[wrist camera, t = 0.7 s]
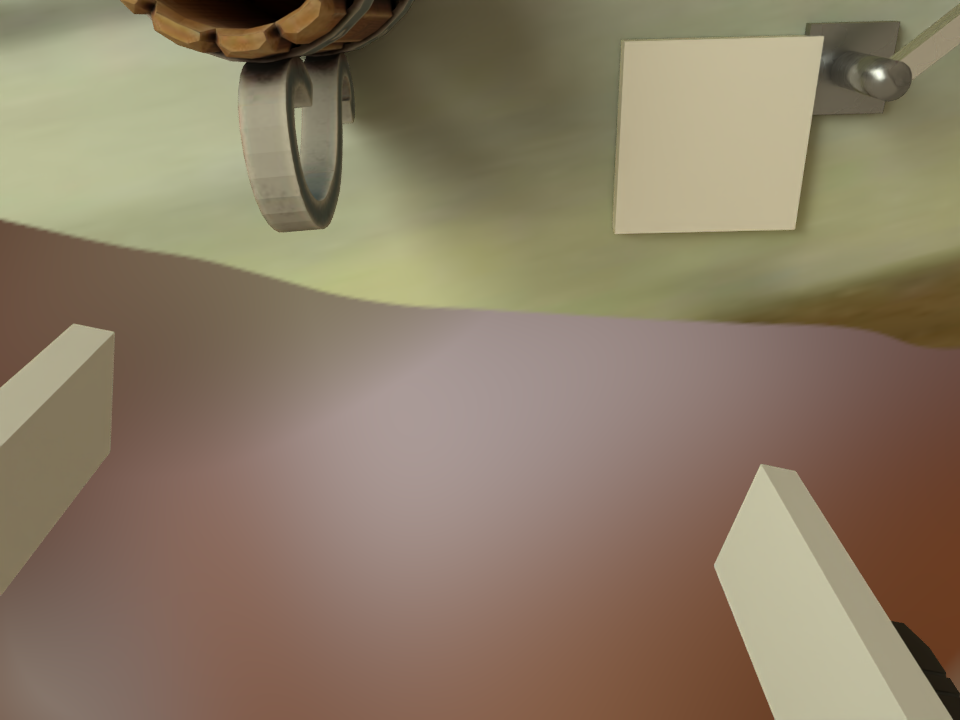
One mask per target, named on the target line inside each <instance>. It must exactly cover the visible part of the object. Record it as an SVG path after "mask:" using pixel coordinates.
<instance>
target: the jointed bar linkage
mask: <svg viewBox="0 0 960 720" xmlns="http://www.w3.org/2000/svg"><path fill="white" fill-rule="evenodd" d="M899 25H900V22H899V21H872V22H835V23H807V24H806V31H805V35H808V36H824V41H823V48H822V54H821V61H820V68H819V74H818V81H817V87H816V94H815V100H814V107H813V114H812V115H823V114H862V113H883V109H884V104H885V101H893V100H896V99H898V98H900V97H901V96H903V95H904V94H905V93H906V92H907V90H908V89H909V87H910V84H911V81H912V80H913V79H914V78H915V77H917V76H918V75H919V74H921V73H922V72H923V71H925V70H926V69H927V68H928V67H930V66H931V65H932V64H934V63H935V62H936V61H938V60H939V59H940V58H942V57H943V56H944V55H945V54H947V53H948V52H949V51H951V50H952V49H953V48H955V47H956V46H957V45H959V44H960V3H959V4H958V5H957V6H956V7H954V8H953V9H952V10H950V11H949V12H948V13H947V14H945V15H944V16H943V17H941V18H940V19H939V20H938V21H936V22H935V23H934V24H932V25H931V26H930V27H929V28H927V29H926V30H925V31H923V32H922V33H921V34H920V35H918V36H917V37H916V38H915V39H913V40H912V41H911V42H909V43H908V44H907V45H906V46H904V47H903V48H902V49H900V50H899V51H898V52H897V53H895V54H894V51H895V46H896V41H897V35H898V30H899Z"/></svg>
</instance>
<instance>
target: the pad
mask: <svg viewBox="0 0 960 720" xmlns="http://www.w3.org/2000/svg"><path fill="white" fill-rule="evenodd" d="M823 41H824V36H808V35H785V36H747V37H710V38H672V39H635V40H621V54H620V74H619V95H618V115H617V136H616V156H615V176H614V197H613V217H612V229H613V231H614V233H615V234H637V233H677V232H718V231H758V230H795V225H796V219H797V212H798V206H799V199H800V192H801V186H802V179H803V173H804V166H805V160H806V153H807V146H808V140H809V133H810V127H811V120H812V114H813V107H814V100H815V94H816V87H817V81H818V74H819V68H820V61H821V54H822V48H823Z"/></svg>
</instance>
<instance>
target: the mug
mask: <svg viewBox="0 0 960 720" xmlns="http://www.w3.org/2000/svg"><path fill="white" fill-rule="evenodd" d="M120 1H121V2H122V3H123V4H124V5H125V6H126V7H127V8H128V9H130V10H131V11H132V12H133V13H134V14H146V15H147V16H148V17H149V18H150V19H151V20H152V21H153V26H154V30H155V31H157V32H158V33H160V34H162V35H163V36H165V37H166V38H168V39H169V40H171V41H173V42H174V43H176V44H177V45H180V46H183V47H186V48H189V49H193V50H196V51H199V52H202V53H207V54H210V55H213V56H217V57H220V58H223V59H226V60H229V61H238V62H246V64H245V65H244V66H243V69H242V72H241V75H240V81H239V89H238V111H239V124H240V133H241V140H242V146H243V153H244V158H245V162H246V167H247V171H248V176H249V180H250V183H251V187H252V190H253V193H254V196H255V200H256V202H257V204H258V206H259V209H260V211H261V213H262V215H263V217H264V218H265V220H266V221H267V223H268V224H269V225H270V226H271V227H272V228H273V229H274V230H276V231H278V232H292V231H304V230H316V229H324V228H326V227H328V225H329V224H330V222H331V220H332V218H333V215H334V212H335V208H336V205H337V201H338V196H339V192H340V184H341V173H342V143H343V139H342V124H345V123H353V121H354V118H355V100H354V90H353V83H352V77H351V72H350V68H349V64H348V61H347V58H346V56H345V54H344V53H345V52H349V51H354V50H358V49H361V48H362V47H364V46H366V45H368V44H369V43H371V42H373V41H374V40H376V39H378V38H380V37H381V36H383V35H385V34H386V33H387V32H388V31H389V30H390V29H391V28H392V27H393V26H394V25H395V24H396V23H397V22H398V21H399V20H400V19H401V18H402V17H403V16H404V15H405V14H406V13H407V12H408V10H409V8H410V7H411V5H412V3H413V1H414V0H120ZM301 56H307V57H306V59H305V61H304V63H303V61H302V59H301V58H299V57H301ZM300 107H302V126H301V149H300V157H299V152H298V146H297V139H296V131H295V119H294V108H300Z"/></svg>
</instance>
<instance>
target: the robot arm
mask: <svg viewBox="0 0 960 720" xmlns="http://www.w3.org/2000/svg"><path fill="white" fill-rule="evenodd" d="M114 339H115V332H112V331H107V330H102V329H97V328H92V327H87V326H82V325H77V324H73V325H72V326H70V327H69V328H68V329H67V330H66V331H65V332H64V333H62V334H61V335H60V336H59V337H58V338H57V339H56V340H54V341H53V342H52V343H51V344H50V345H49V346H48V347H46V348H45V349H44V350H43V351H42V352H41V353H40V354H39V355H37V356H36V357H35V358H34V359H33V360H32V361H31V362H30V363H28V364H27V365H26V366H25V367H24V368H22V369H21V370H20V371H19V372H18V373H17V374H16V375H15V376H13V377H12V378H11V379H10V380H9V381H8V382H7V383H5V384H4V385H3V386H2V387H1V388H0V596H1V595H2V593H3V592H4V591H5V589H6V588H7V587H8V586H9V584H10V583H11V582H12V580H13V579H14V578H15V576H16V575H17V574H18V572H19V571H20V570H21V568H22V567H23V566H24V564H25V563H26V562H27V560H28V559H29V558H30V557H31V555H32V554H33V553H34V551H35V550H36V549H37V547H38V546H39V545H40V543H41V542H42V541H43V539H44V538H45V537H46V536H47V534H48V533H49V531H50V530H51V529H52V528H53V526H54V525H55V523H56V522H57V521H58V520H59V518H60V517H61V516H62V514H63V513H64V511H66V509H67V508H68V506H69V505H70V504H71V502H72V501H73V500H74V499H75V497H76V496H77V495H78V493H79V492H80V491H81V489H82V488H83V487H84V485H85V484H86V483H87V481H88V480H89V479H90V477H91V476H92V475H93V474H94V472H95V471H96V470H97V468H98V467H99V466H100V464H101V463H102V462H103V460H104V459H105V458H106V457H107V455H108V454H109V453H110V442H111V416H112V392H113V365H114ZM714 567H715V570H716V572H717V575H718V577H719V580H720V582H721V585H722V587H723V590H724V592H725V595H726V598H727V600H728V603H729V605H730V608H731V610H732V613H733V615H734V618H735V620H736V623H737V625H738V628H739V630H740V633H741V635H742V638H743V640H744V643H745V645H746V648H747V650H748V653H749V656H750V658H751V660H752V663H753V666H754V668H755V671H756V673H757V676H758V678H759V681H760V683H761V686H762V688H763V691H764V693H765V696H766V698H767V701H768V703H769V706H770V709H771V711H772V714H773V716H774V718H775V720H960V693H959V692H958V690H957V688H956V687H955V685H954V684H953V682H952V681H951V679H950V678H946V672H945V670H944V669H943V667H942V666H941V665H940V663H939V661H938V660H937V659H936V657H935V655H934V654H933V653H932V651H931V650H930V648H929V647H928V646H927V645H926V644H925V643H924V642H923V641H922V640H921V639H920V638H919V637H918V636H917V635H915V634H914V633H913V632H912V631H911V630H910V629H909V628H908V627H907V626H906V625H905V624H904V623H899V622H894V621H890V619H889V618H888V616H887V615H886V613H885V612H884V610H883V608H882V607H881V606H880V604H879V602H878V601H877V599H876V597H875V596H874V595H873V593H872V591H871V589H870V588H869V586H868V585H867V583H866V582H865V580H864V579H863V577H862V576H861V574H860V572H859V571H858V569H857V568H856V566H855V564H854V563H853V561H852V559H851V558H850V557H849V555H848V553H847V552H846V550H845V548H844V547H843V545H842V544H841V542H840V541H839V539H838V537H837V536H836V534H835V533H834V531H833V530H832V528H831V526H830V525H829V523H828V522H827V520H826V519H825V517H824V515H823V514H822V512H821V511H820V509H819V507H818V506H817V504H816V503H815V501H814V500H813V498H812V496H811V495H810V493H809V492H808V490H807V489H806V487H805V485H804V484H803V482H802V481H801V479H800V477H799V476H798V474H797V473H796V471H793V470H788V469H783V468H778V467H773V466H768V465H763V464H761V465H760V467H759V469H758V472H757V474H756V476H755V478H754V480H753V482H752V484H751V487H750V489H749V491H748V493H747V495H746V497H745V500H744V502H743V504H742V506H741V508H740V510H739V512H738V515H737V517H736V519H735V521H734V523H733V525H732V528H731V530H730V532H729V534H728V536H727V539H726V541H725V543H724V545H723V547H722V549H721V551H720V554H719V556H718V558H717V560H716V562H715V564H714Z"/></svg>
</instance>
